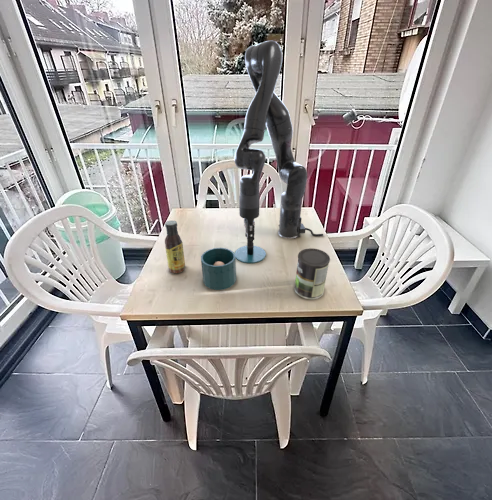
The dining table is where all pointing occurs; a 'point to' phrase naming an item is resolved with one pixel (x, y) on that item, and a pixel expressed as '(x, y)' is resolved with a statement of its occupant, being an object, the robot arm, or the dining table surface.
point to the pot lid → (250, 254)
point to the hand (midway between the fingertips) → (249, 241)
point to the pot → (218, 268)
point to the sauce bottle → (174, 248)
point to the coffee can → (311, 273)
